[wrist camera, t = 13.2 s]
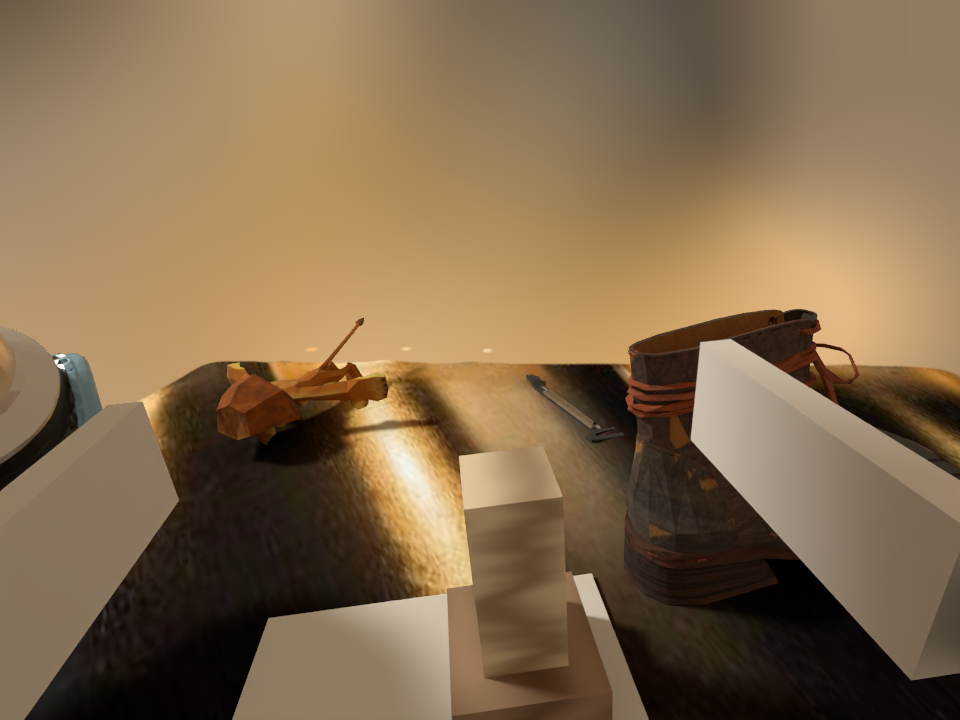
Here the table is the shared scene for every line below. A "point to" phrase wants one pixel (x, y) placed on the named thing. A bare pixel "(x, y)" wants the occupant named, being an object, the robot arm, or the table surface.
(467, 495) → the column
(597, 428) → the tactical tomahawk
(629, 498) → the ankle boot
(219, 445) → the table surface
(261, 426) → the toy
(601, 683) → the plinth
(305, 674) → the white flat panel
